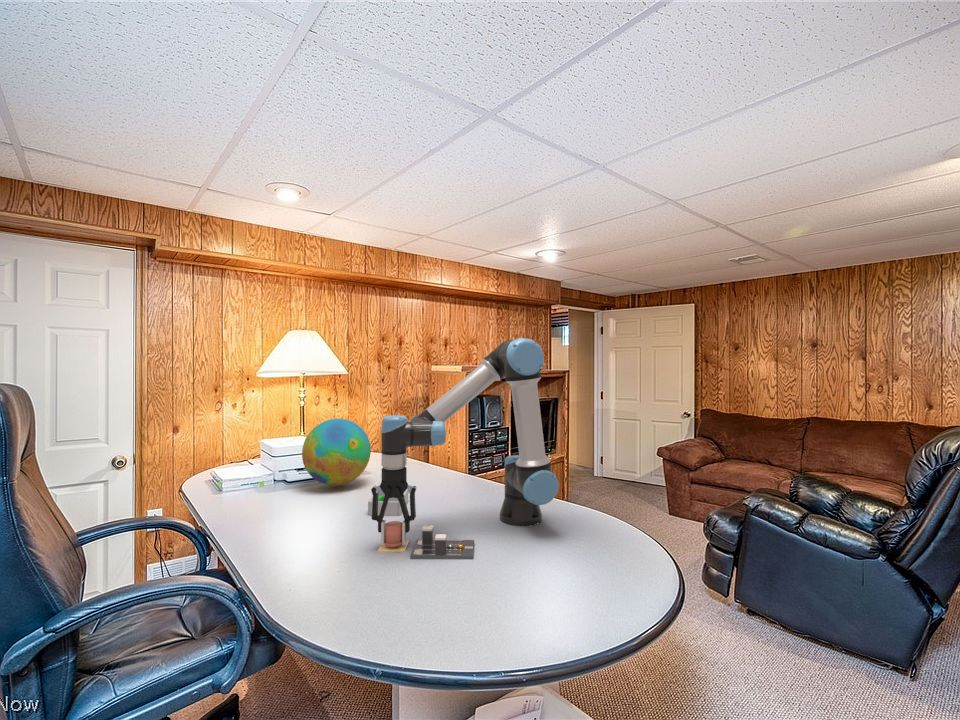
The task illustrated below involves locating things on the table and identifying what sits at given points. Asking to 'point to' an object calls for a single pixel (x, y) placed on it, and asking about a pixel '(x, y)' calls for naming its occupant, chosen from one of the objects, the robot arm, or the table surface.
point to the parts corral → (388, 505)
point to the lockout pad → (393, 548)
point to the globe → (336, 452)
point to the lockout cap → (393, 534)
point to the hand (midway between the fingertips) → (393, 542)
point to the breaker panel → (453, 550)
